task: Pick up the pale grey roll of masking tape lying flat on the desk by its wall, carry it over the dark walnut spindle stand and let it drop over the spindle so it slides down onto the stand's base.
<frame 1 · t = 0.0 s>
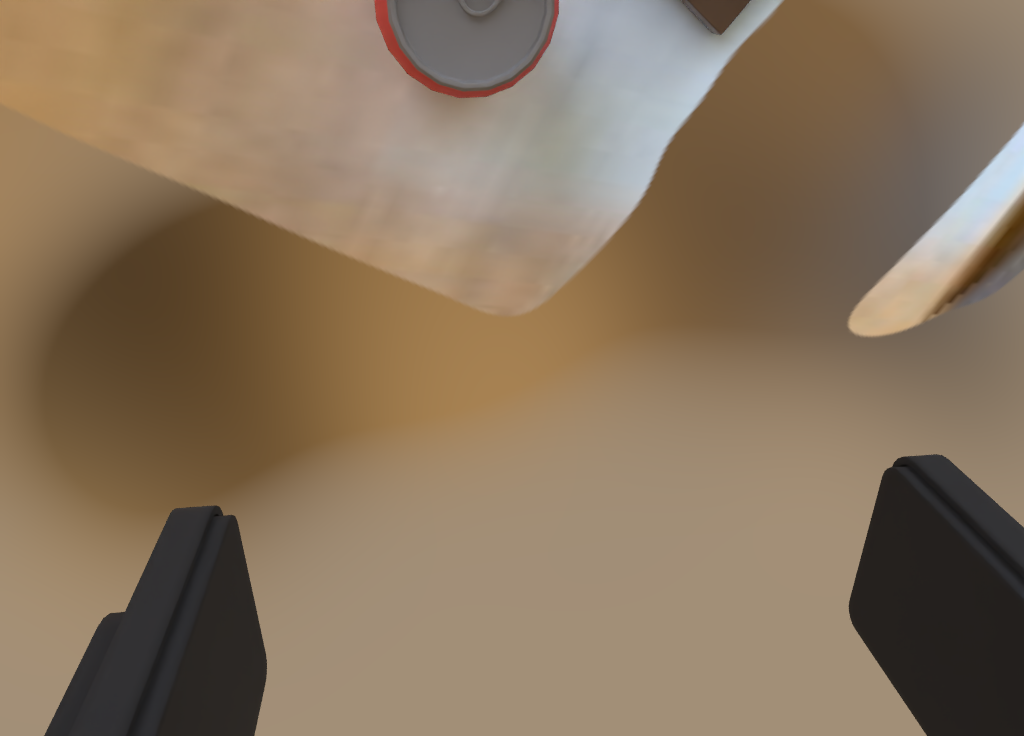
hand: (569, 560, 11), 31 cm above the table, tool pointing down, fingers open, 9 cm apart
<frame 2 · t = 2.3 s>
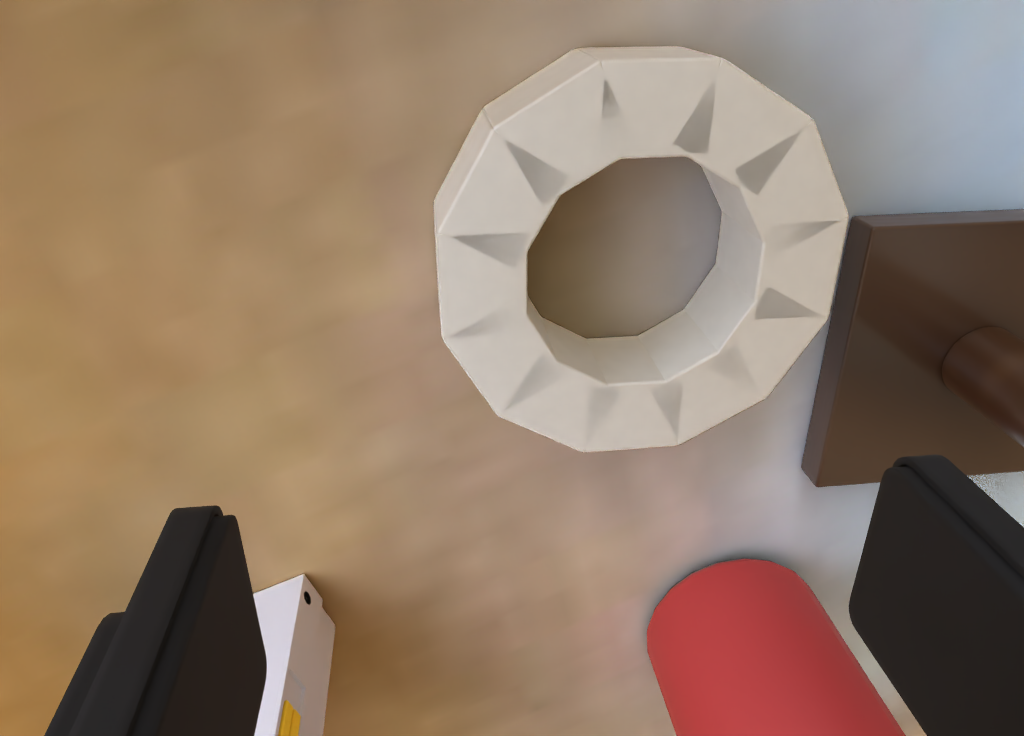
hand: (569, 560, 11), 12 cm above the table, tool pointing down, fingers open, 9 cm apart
spindle: (954, 344, 25), on the table
walkman: (223, 633, 27), on the table
beer can: (723, 611, 30), on the table
tape roll: (616, 241, 22), on the table
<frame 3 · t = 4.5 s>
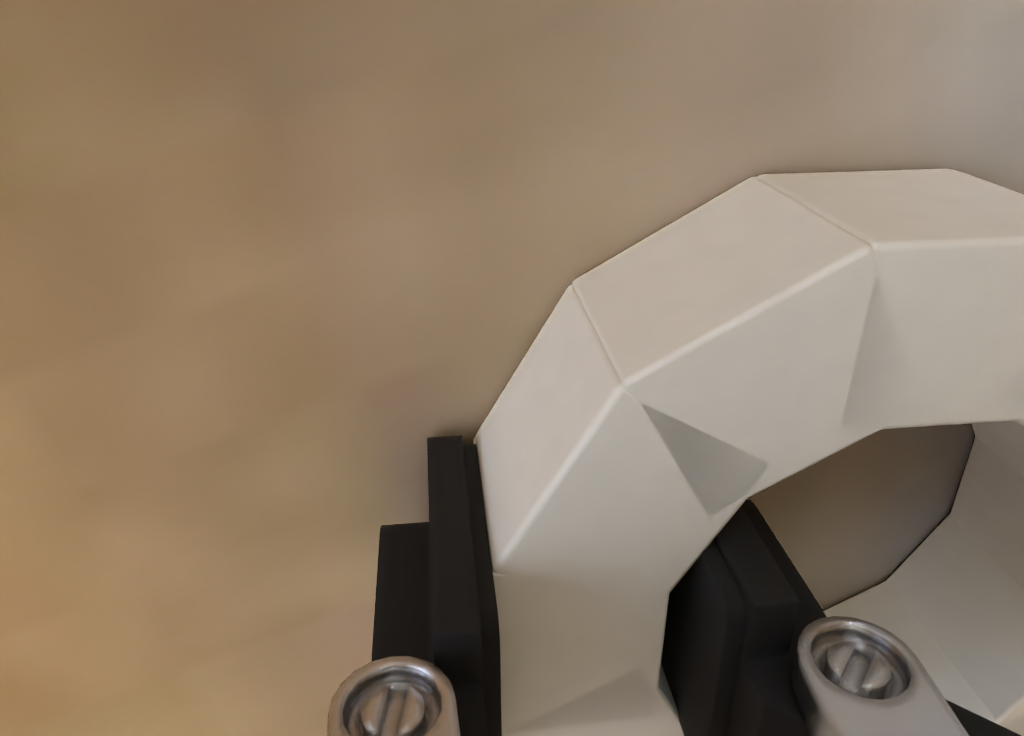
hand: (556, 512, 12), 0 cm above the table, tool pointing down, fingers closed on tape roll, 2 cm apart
tape roll: (789, 487, 13), on the table, touching gripper
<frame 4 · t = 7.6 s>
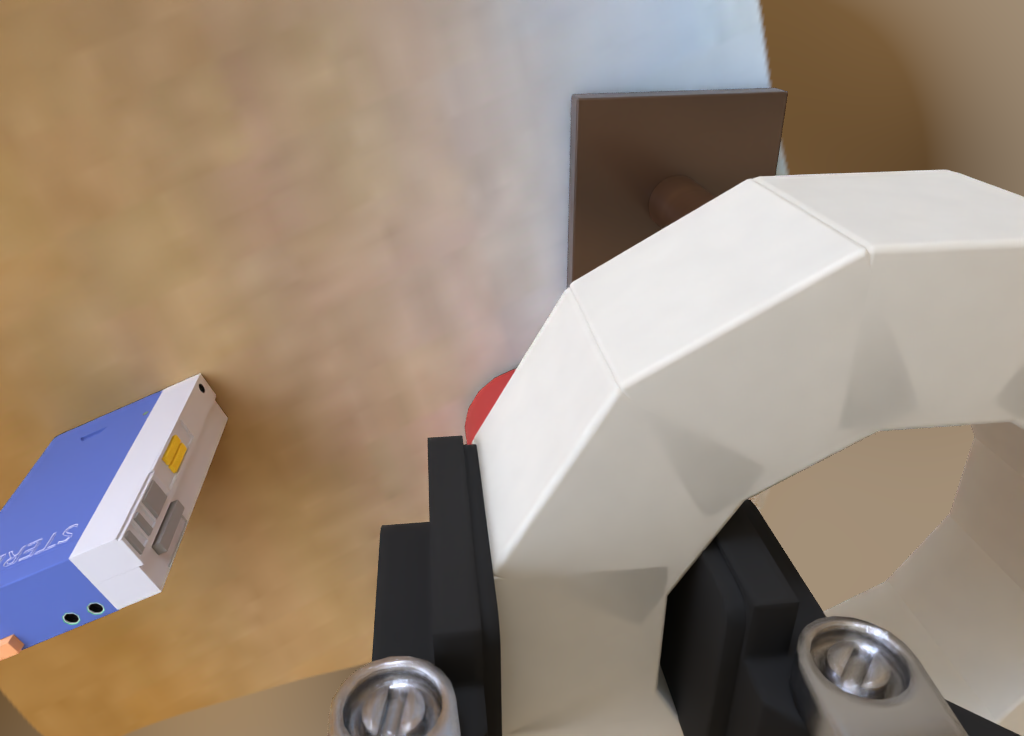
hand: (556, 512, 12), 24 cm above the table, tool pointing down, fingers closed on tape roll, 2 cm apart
spindle: (666, 195, 34), on the table
walkman: (144, 423, 37), on the table
beer can: (527, 415, 39), on the table
tape roll: (788, 488, 13), point 23 cm above the table, touching gripper
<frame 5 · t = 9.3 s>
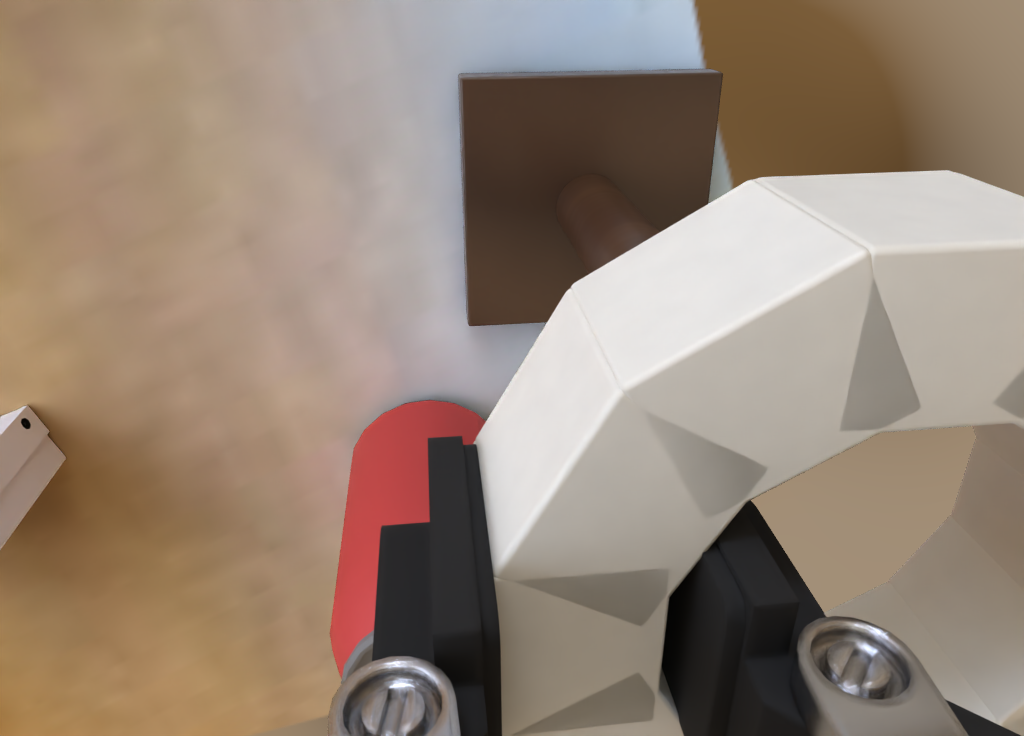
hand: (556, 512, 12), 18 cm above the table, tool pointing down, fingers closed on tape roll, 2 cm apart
spindle: (582, 198, 29), on the table
beer can: (428, 456, 33), on the table
tape roll: (790, 489, 13), point 18 cm above the table, touching gripper
when the fingers open (15 cm above the table, at t = 10.5 s): tape roll drops 14 cm, resting on spindle.
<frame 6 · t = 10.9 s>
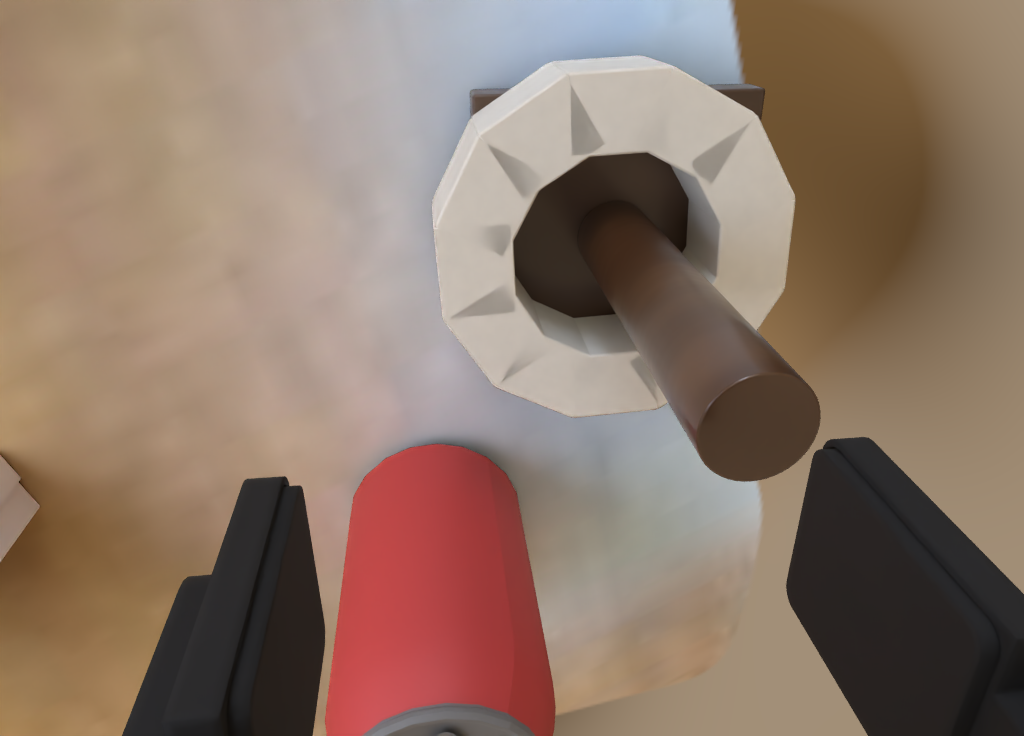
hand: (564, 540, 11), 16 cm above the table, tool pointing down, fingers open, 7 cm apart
spindle: (605, 226, 26), on the table
beer can: (435, 502, 31), on the table
tape roll: (596, 230, 25), point 1 cm above the table, touching spindle
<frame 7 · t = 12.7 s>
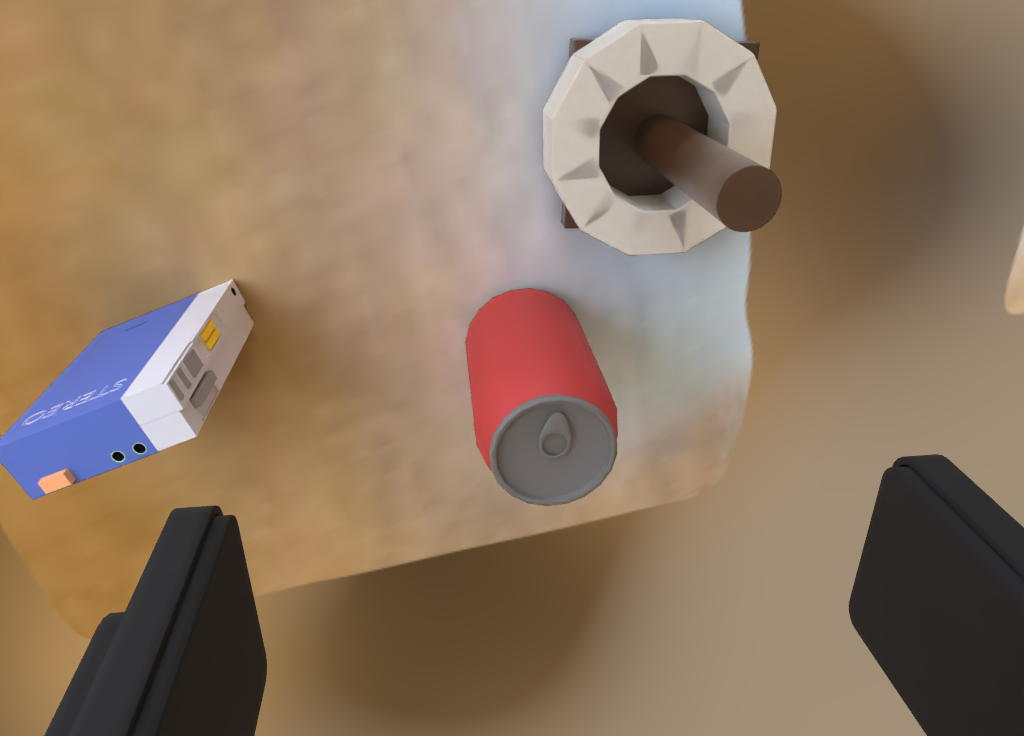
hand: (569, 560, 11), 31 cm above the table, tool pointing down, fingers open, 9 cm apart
spindle: (652, 135, 39), on the table
walkman: (179, 325, 41), on the table
beer can: (522, 337, 43), on the table
tape roll: (647, 134, 38), point 1 cm above the table, touching spindle
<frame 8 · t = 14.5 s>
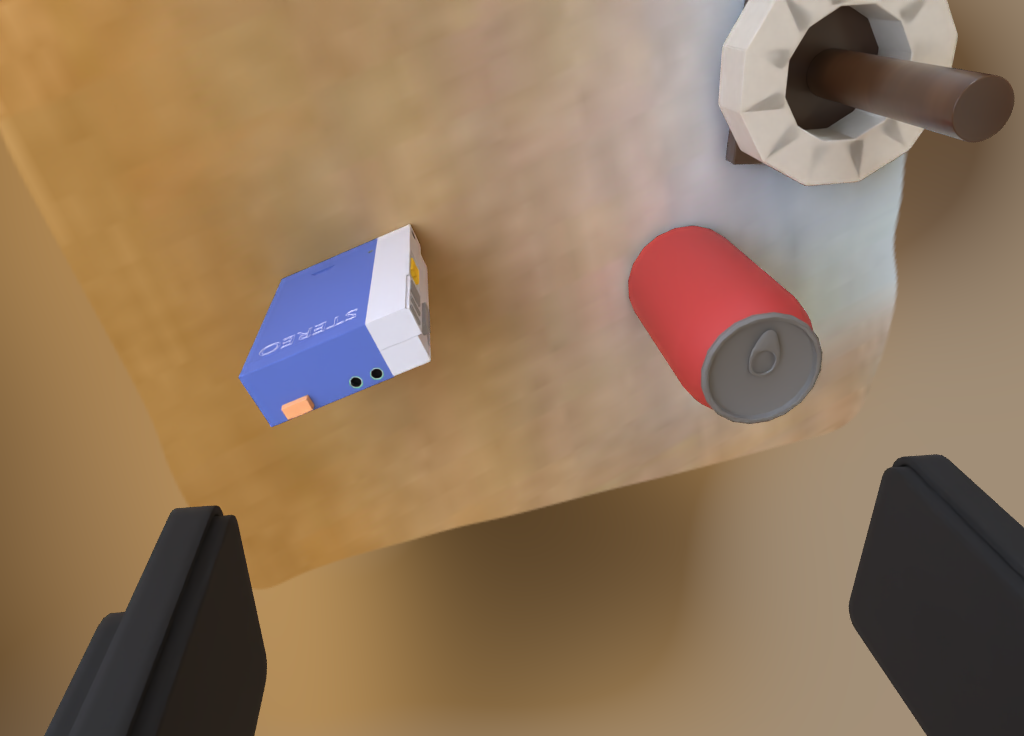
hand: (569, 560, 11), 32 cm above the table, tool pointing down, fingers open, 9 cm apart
spindle: (818, 70, 40), on the table
walkman: (355, 271, 42), on the table
beer can: (679, 276, 45), on the table
tape roll: (819, 68, 39), point 1 cm above the table, touching spindle
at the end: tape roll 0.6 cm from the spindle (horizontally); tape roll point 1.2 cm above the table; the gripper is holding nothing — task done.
